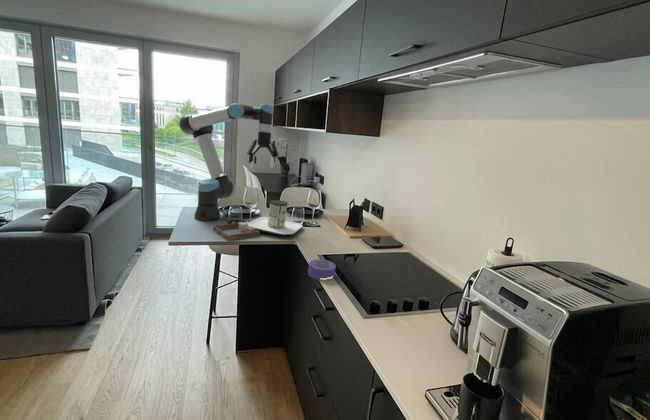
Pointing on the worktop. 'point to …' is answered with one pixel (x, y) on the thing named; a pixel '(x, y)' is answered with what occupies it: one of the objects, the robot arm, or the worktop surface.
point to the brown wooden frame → (234, 236)
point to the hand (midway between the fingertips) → (262, 167)
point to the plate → (262, 225)
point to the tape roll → (321, 269)
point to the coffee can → (277, 213)
